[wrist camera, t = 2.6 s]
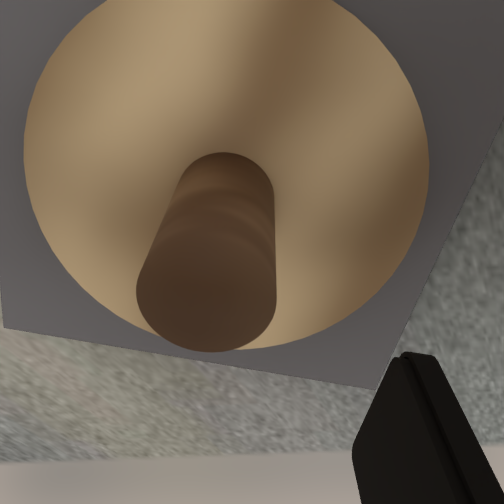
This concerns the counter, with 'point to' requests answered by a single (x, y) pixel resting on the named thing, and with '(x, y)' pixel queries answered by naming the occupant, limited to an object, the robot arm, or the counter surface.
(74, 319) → the mat
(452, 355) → the counter surface
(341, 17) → the lid
